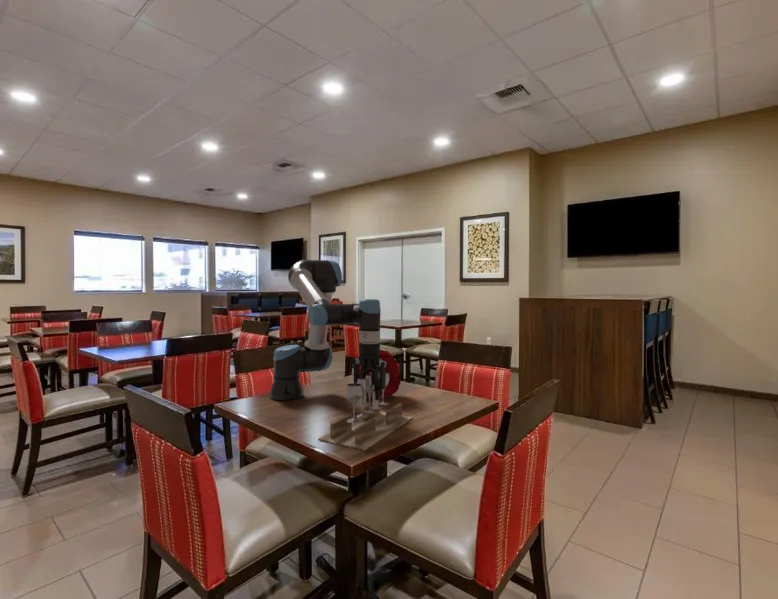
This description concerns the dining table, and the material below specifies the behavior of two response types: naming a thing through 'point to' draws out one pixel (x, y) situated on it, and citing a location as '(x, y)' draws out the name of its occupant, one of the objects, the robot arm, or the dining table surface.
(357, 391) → the goblet set
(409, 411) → the dining table surface
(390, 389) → the bouquet
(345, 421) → the glass rack
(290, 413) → the dining table surface
